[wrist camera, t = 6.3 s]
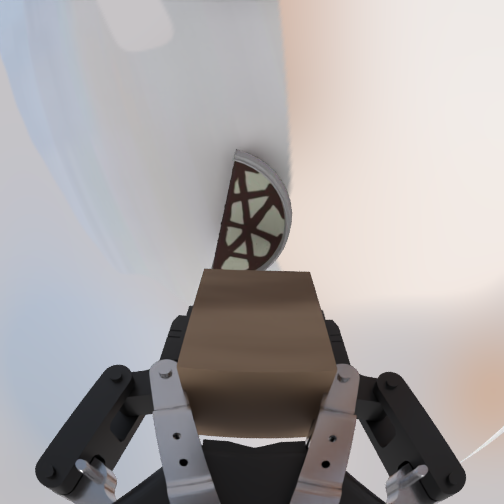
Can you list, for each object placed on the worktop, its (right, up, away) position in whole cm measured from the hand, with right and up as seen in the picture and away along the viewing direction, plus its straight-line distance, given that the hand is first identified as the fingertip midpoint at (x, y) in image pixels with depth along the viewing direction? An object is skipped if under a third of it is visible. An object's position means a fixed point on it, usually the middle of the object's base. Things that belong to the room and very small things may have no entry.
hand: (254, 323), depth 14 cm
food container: (0, +9, +19) cm, 21 cm away
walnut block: (0, 0, +1) cm, 1 cm away
